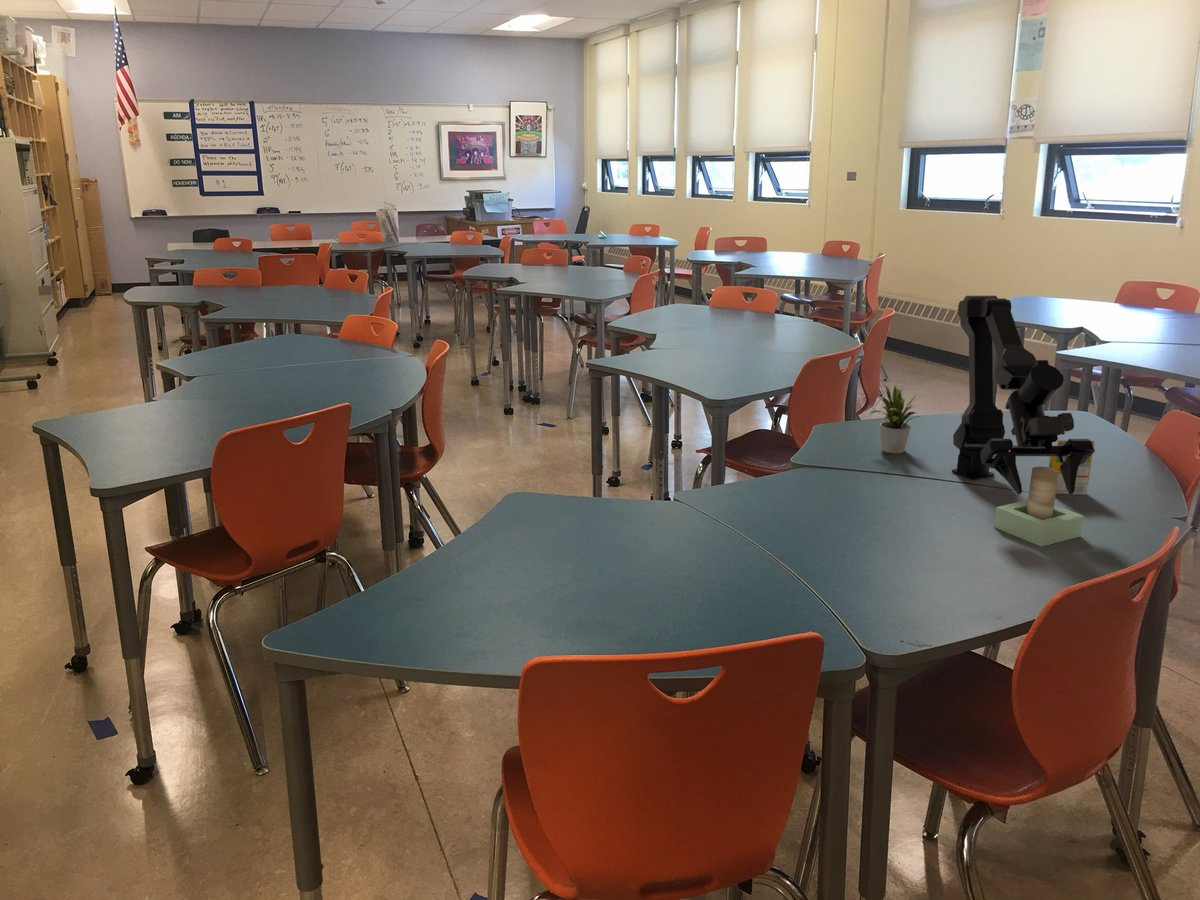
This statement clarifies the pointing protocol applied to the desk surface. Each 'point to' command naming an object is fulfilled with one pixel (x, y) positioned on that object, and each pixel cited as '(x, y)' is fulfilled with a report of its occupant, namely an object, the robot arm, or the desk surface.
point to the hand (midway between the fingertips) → (1045, 493)
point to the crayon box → (1081, 476)
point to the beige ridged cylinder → (1042, 492)
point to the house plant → (894, 422)
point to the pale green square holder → (1038, 524)
